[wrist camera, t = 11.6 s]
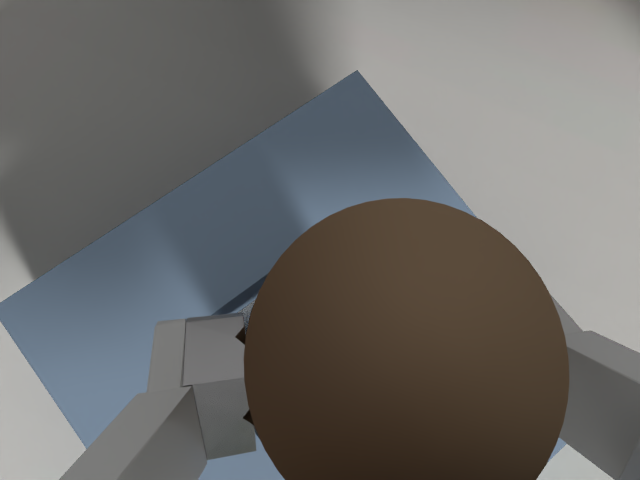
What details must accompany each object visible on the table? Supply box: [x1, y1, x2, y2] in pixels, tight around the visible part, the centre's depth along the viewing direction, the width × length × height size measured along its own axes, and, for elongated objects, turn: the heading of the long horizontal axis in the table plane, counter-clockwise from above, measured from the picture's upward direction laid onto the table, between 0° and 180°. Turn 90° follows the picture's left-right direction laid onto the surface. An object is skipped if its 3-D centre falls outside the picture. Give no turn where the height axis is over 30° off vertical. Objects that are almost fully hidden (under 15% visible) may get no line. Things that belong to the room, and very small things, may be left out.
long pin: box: [244, 198, 569, 480], centre depth 11 cm, size 4×4×10 cm
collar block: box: [0, 70, 567, 480], centre depth 19 cm, size 14×14×5 cm
